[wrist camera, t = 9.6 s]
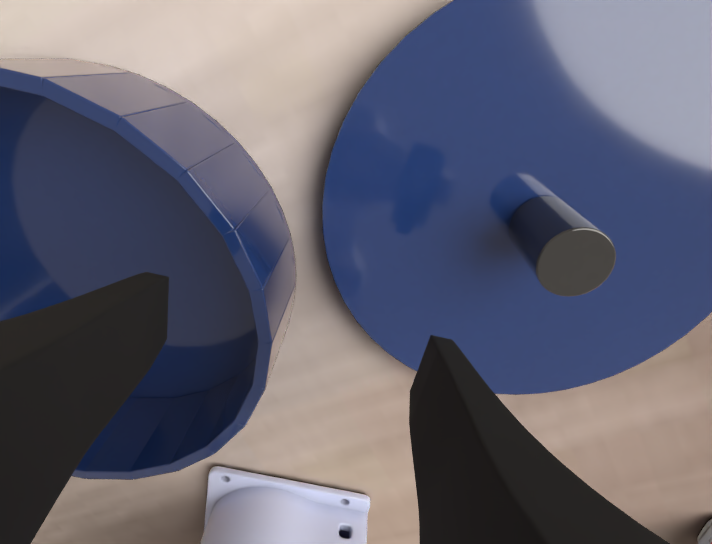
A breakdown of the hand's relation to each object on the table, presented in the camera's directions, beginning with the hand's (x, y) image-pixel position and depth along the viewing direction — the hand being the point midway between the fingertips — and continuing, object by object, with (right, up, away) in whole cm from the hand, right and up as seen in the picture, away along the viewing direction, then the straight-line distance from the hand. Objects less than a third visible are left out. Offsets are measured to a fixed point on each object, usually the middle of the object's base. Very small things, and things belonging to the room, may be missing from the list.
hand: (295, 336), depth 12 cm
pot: (-9, +2, +8) cm, 12 cm away
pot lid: (+9, +4, +5) cm, 11 cm away
